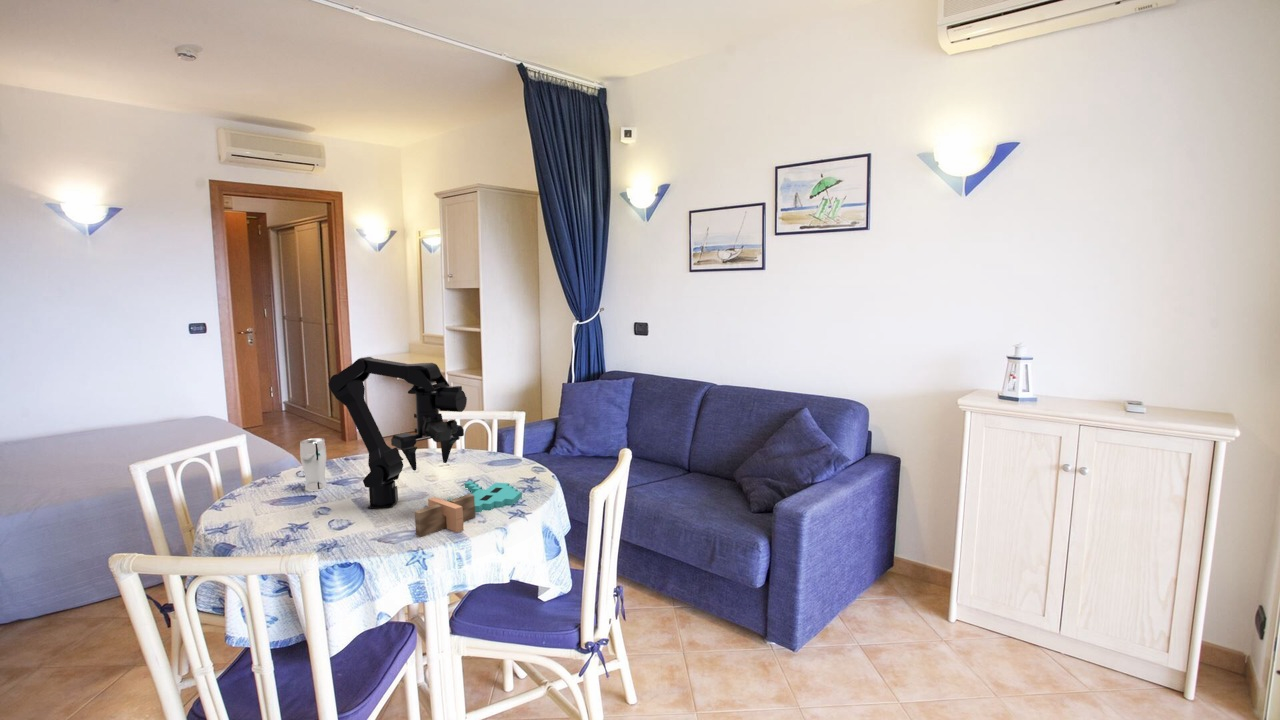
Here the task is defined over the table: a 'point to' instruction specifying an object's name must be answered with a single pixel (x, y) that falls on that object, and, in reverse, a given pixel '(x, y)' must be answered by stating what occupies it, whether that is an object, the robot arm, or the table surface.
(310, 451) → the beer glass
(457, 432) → the robot arm
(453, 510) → the terracotta u-shaped block
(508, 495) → the alien figure
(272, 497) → the table surface
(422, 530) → the notched wooden block
